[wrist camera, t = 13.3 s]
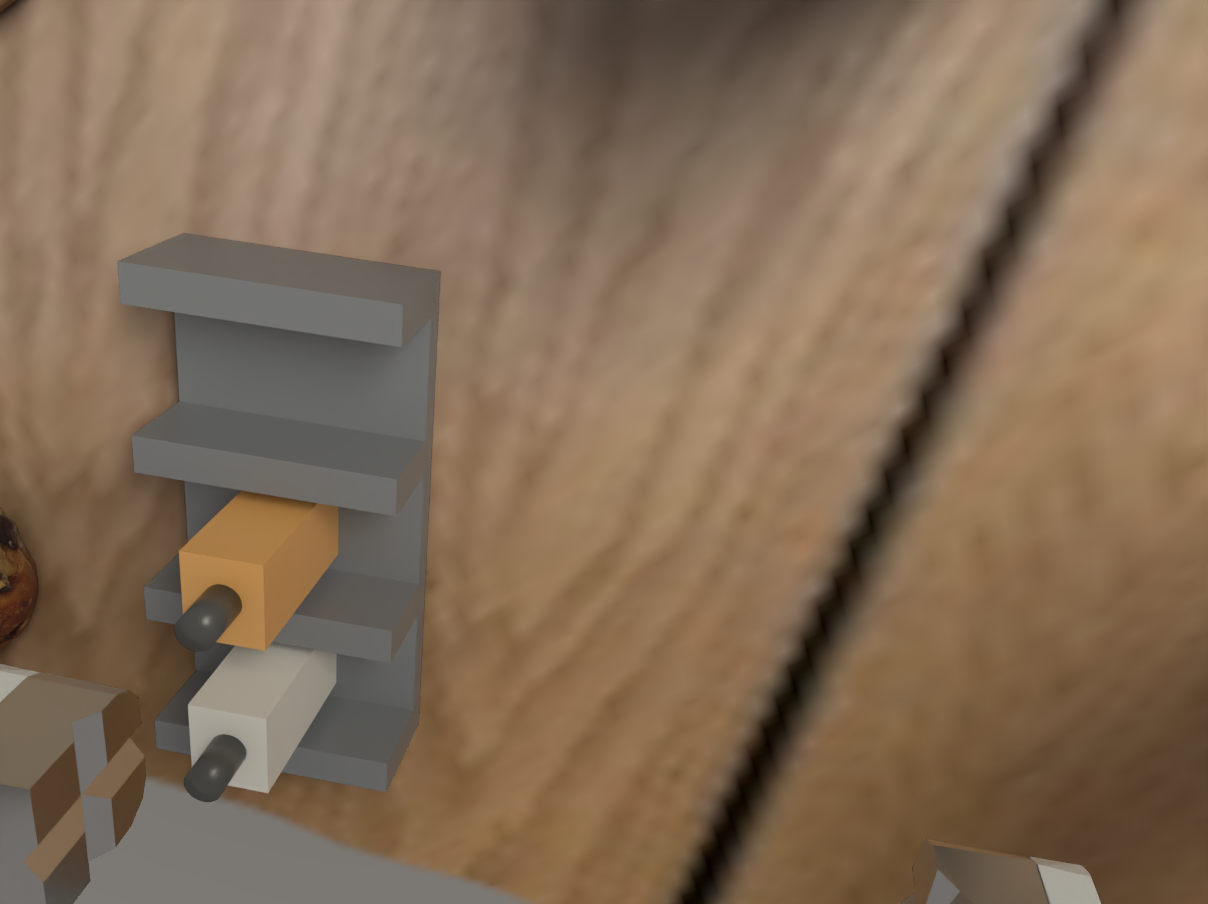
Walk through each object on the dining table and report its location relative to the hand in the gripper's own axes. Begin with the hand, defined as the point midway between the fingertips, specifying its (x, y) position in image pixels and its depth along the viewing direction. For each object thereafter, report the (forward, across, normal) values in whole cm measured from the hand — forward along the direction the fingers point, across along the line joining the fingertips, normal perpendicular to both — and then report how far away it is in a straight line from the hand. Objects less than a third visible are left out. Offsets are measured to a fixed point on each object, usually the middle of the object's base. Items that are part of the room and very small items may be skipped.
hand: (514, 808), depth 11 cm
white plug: (+28, +14, +20) cm, 37 cm away
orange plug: (+28, +14, +13) cm, 34 cm away
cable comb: (+29, +14, +14) cm, 35 cm away
